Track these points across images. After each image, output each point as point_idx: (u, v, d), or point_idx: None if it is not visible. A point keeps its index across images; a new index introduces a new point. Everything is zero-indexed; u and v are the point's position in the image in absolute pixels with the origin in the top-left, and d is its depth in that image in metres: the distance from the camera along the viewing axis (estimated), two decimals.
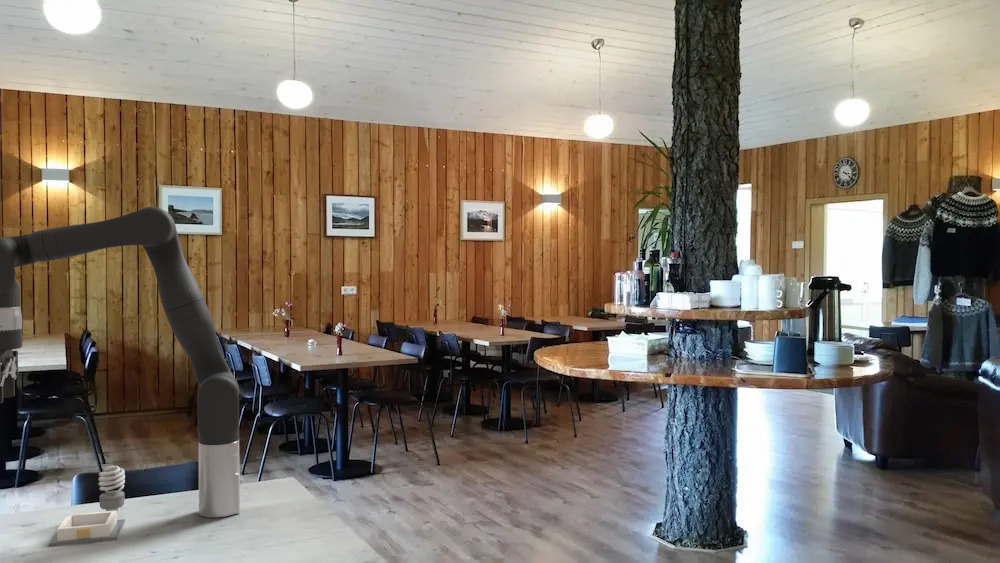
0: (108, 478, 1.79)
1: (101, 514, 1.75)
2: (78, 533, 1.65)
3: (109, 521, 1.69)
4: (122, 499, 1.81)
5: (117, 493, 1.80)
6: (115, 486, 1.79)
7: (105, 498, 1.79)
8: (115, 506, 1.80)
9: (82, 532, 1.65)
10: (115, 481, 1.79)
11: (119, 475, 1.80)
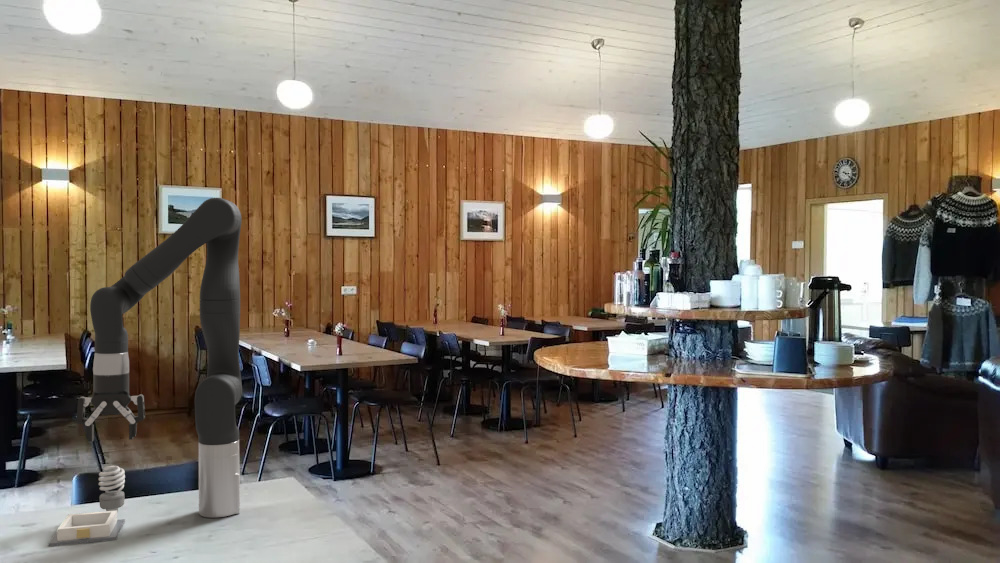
0: (108, 478, 1.79)
1: (101, 514, 1.75)
2: (78, 533, 1.65)
3: (109, 521, 1.69)
4: (122, 499, 1.81)
5: (117, 493, 1.80)
6: (115, 486, 1.79)
7: (105, 498, 1.79)
8: (115, 506, 1.80)
9: (82, 532, 1.65)
10: (115, 481, 1.79)
11: (119, 475, 1.80)
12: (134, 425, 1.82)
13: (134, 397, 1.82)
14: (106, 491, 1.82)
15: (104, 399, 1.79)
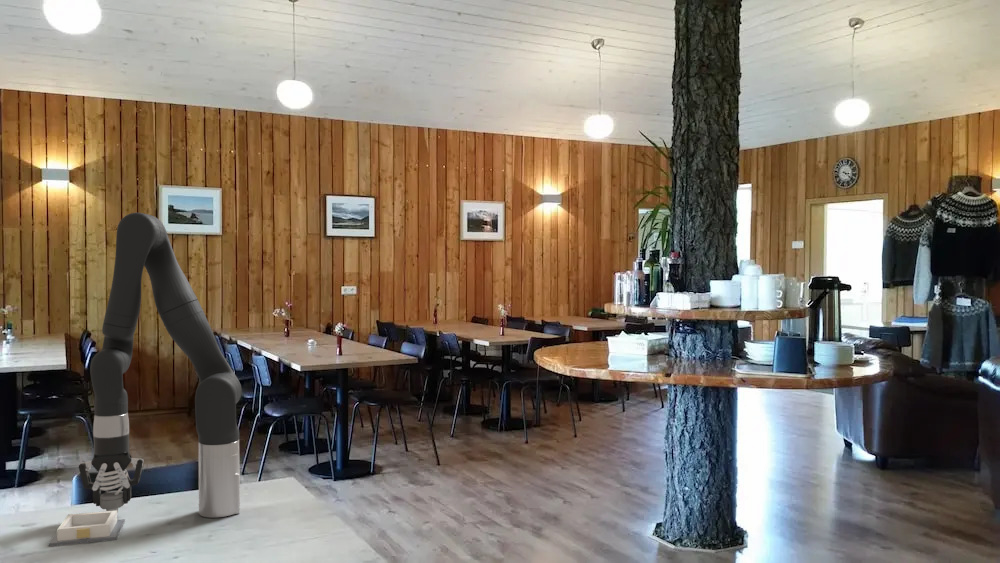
0: (108, 478, 1.79)
1: (101, 514, 1.75)
2: (78, 533, 1.65)
3: (109, 521, 1.69)
4: (122, 499, 1.81)
5: (117, 493, 1.80)
6: (115, 486, 1.79)
7: (105, 498, 1.79)
8: (115, 506, 1.80)
9: (82, 532, 1.65)
10: (115, 481, 1.79)
11: (119, 475, 1.80)
12: (129, 489, 1.82)
13: (134, 460, 1.82)
14: (106, 491, 1.82)
15: (104, 461, 1.80)
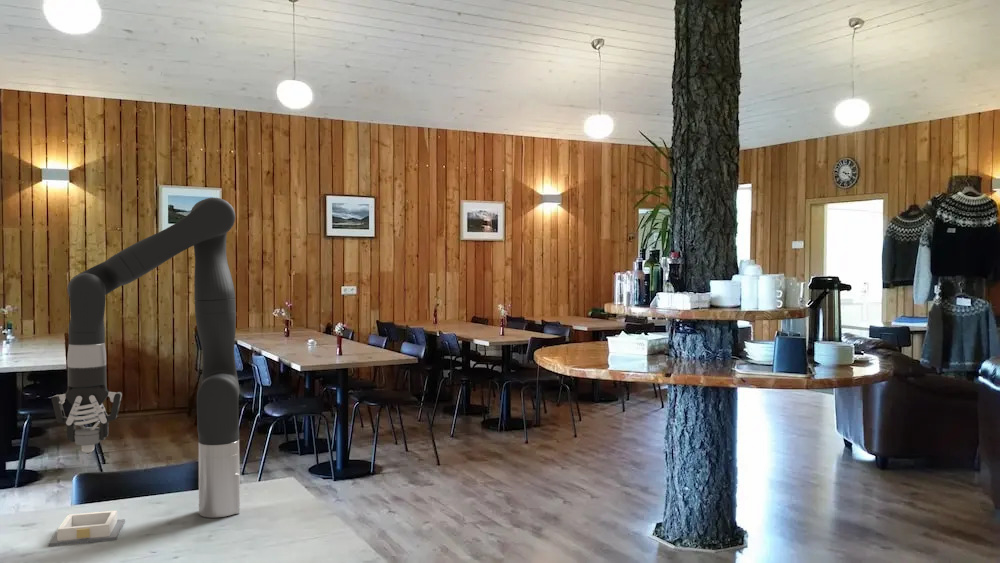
0: (83, 412, 1.67)
1: (101, 514, 1.75)
2: (78, 533, 1.65)
3: (109, 521, 1.69)
4: (99, 435, 1.69)
5: (93, 428, 1.69)
6: (91, 420, 1.68)
7: (80, 433, 1.67)
8: (91, 442, 1.68)
9: (82, 532, 1.65)
10: (91, 415, 1.68)
11: (95, 409, 1.68)
12: (106, 425, 1.70)
13: (112, 393, 1.71)
14: (82, 427, 1.70)
15: (79, 393, 1.68)
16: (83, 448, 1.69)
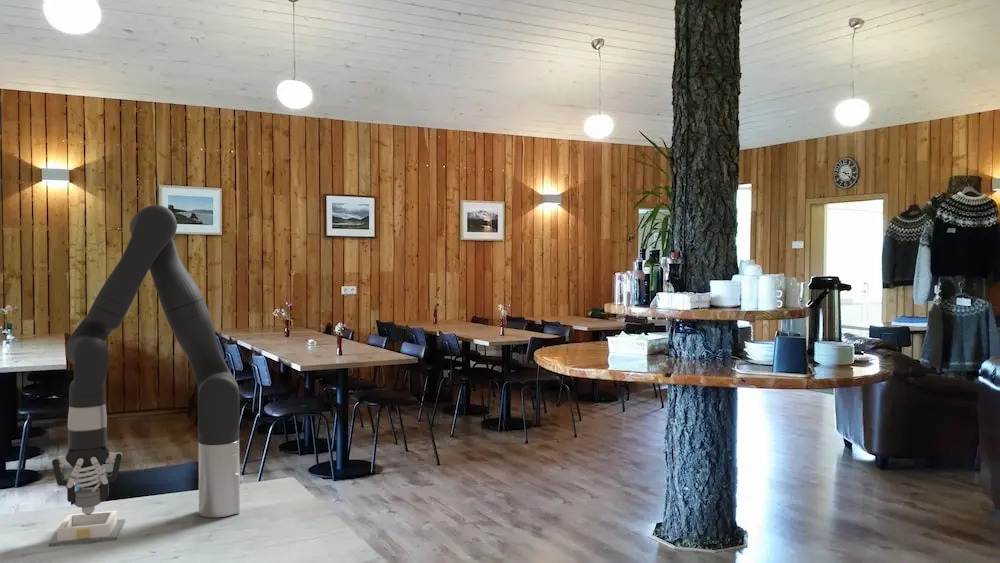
0: (85, 474, 1.67)
1: (101, 514, 1.75)
2: (78, 533, 1.65)
3: (109, 521, 1.69)
4: (100, 496, 1.70)
5: (94, 490, 1.69)
6: (92, 482, 1.68)
7: (82, 495, 1.67)
8: (92, 504, 1.68)
9: (82, 532, 1.65)
10: (92, 477, 1.68)
11: (97, 470, 1.69)
12: (106, 485, 1.71)
13: (113, 454, 1.71)
14: (81, 488, 1.70)
15: (80, 455, 1.68)
16: (84, 510, 1.69)
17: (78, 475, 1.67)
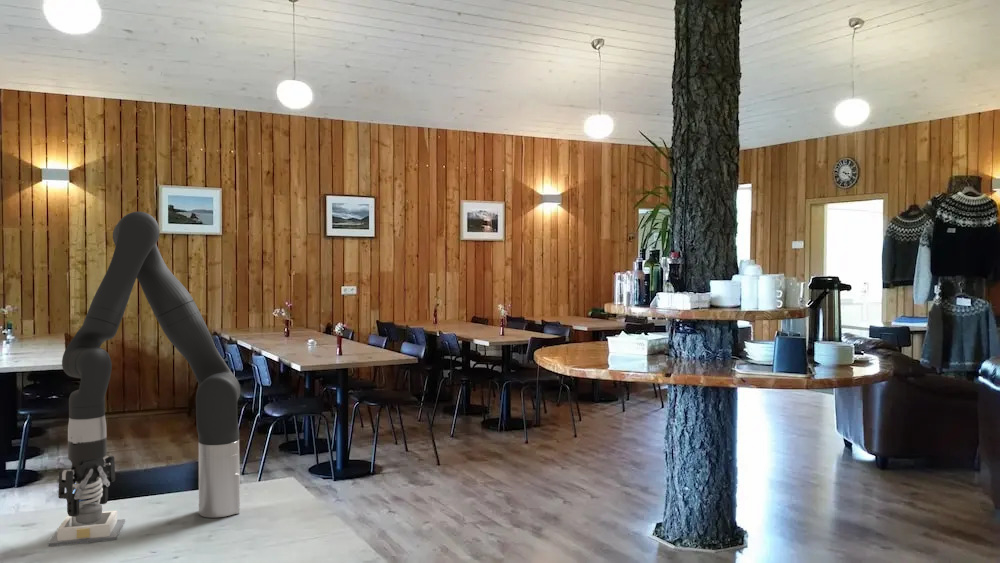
0: (98, 488, 1.69)
1: None
2: (78, 533, 1.65)
3: (109, 521, 1.69)
4: None
5: (99, 503, 1.71)
6: (101, 495, 1.71)
7: (94, 509, 1.69)
8: (101, 516, 1.71)
9: (82, 532, 1.65)
10: (102, 490, 1.71)
11: None
12: (107, 488, 1.75)
13: (105, 459, 1.75)
14: (81, 506, 1.69)
15: (87, 467, 1.68)
16: None
17: (91, 490, 1.68)
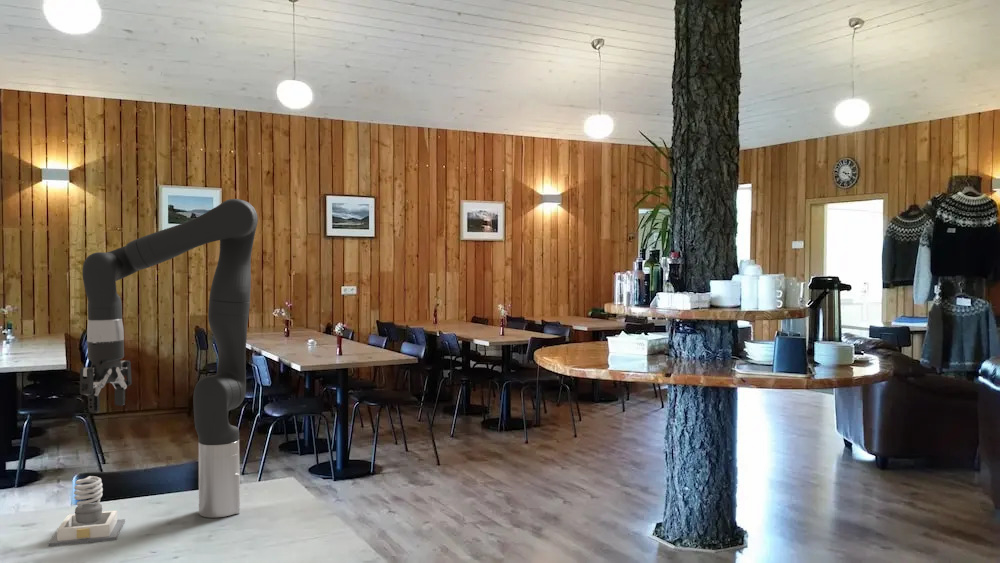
0: (98, 488, 1.69)
1: None
2: (78, 533, 1.65)
3: (109, 521, 1.69)
4: None
5: (98, 503, 1.71)
6: (101, 495, 1.71)
7: (94, 509, 1.69)
8: (101, 516, 1.71)
9: (82, 532, 1.65)
10: (101, 490, 1.71)
11: None
12: None
13: (122, 363, 1.82)
14: (80, 506, 1.69)
15: (106, 367, 1.76)
16: None
17: (91, 490, 1.68)
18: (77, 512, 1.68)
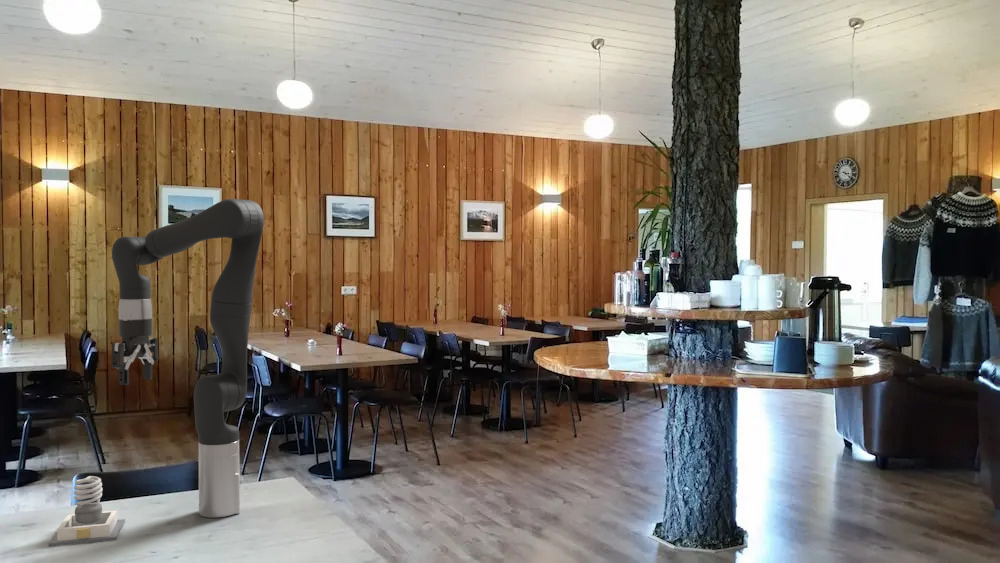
0: (97, 487, 1.69)
1: None
2: (78, 533, 1.65)
3: (109, 521, 1.69)
4: None
5: (98, 503, 1.71)
6: (101, 495, 1.71)
7: (94, 509, 1.69)
8: None
9: (82, 532, 1.65)
10: (101, 489, 1.71)
11: (101, 483, 1.72)
12: (151, 366, 1.96)
13: (150, 340, 1.96)
14: (80, 506, 1.69)
15: (136, 343, 1.90)
16: None
17: (91, 490, 1.68)
18: (77, 512, 1.68)
